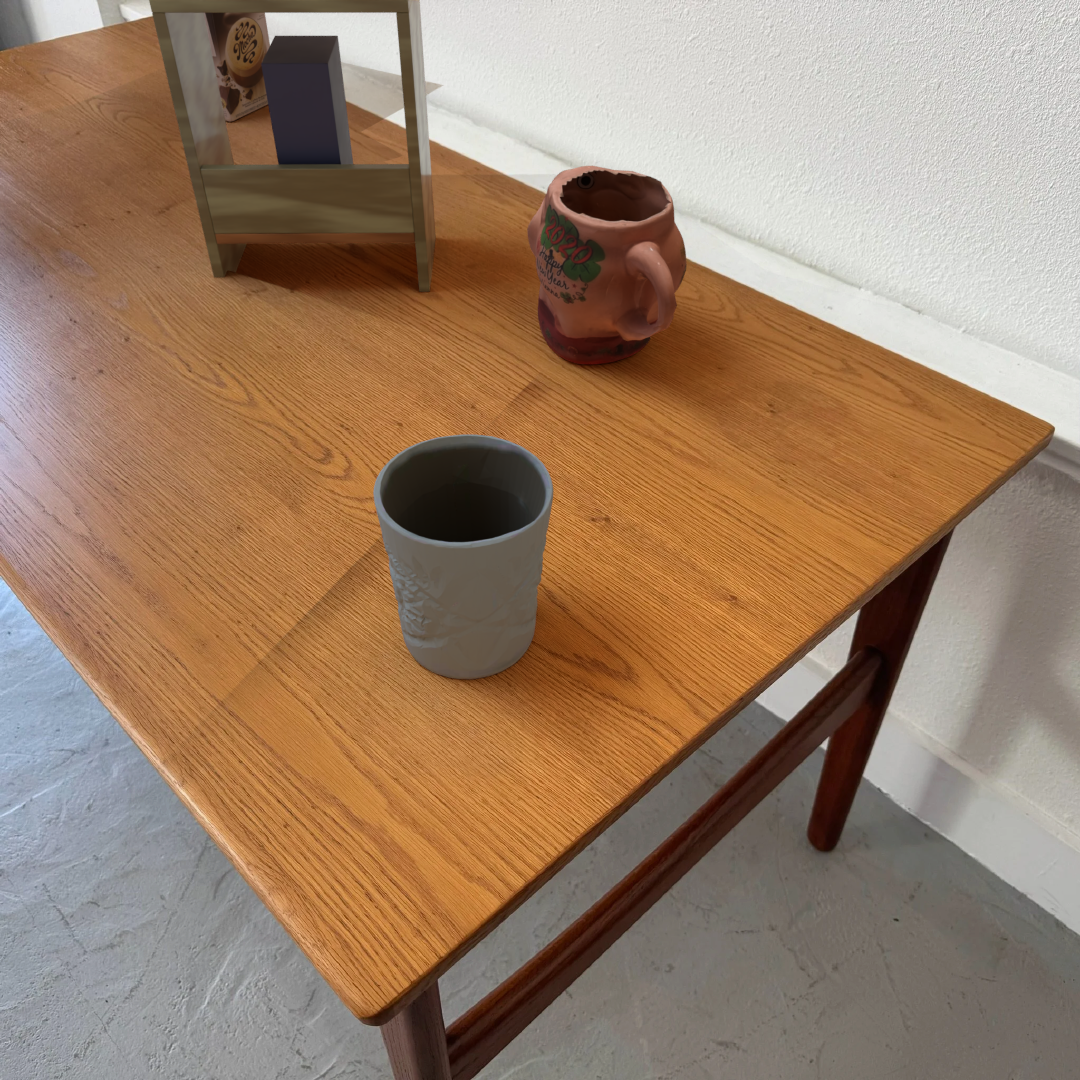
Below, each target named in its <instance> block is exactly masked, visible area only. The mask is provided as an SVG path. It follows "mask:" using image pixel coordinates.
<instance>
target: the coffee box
mask: <svg viewBox="0 0 1080 1080" xmlns="http://www.w3.org/2000/svg"><path fill="white" fill-rule="evenodd" d="M204 17H205V22H206V27H207V32H208V37H209V42H210V47H211V52H212V57H213V62H214V67H215V72H216V77H217V82H218V87H219V92H220V96H221V101H222V106H223V111H224V116H225V121H226V122H234V121H236V120H238V119H240V118H242V117H244V116H246V115H249V114H251V113H253V112H255V111H257V110H259V109H261V108H263V107H266V106H268V101H267V95H266V89H265V83H264V77H263V71H262V66H261V63H262V61H263V59H264V57H265V55H266V53H267V51H268V49H269V47H270V45H271V43H270V36H269V31H268V24H267V23H268V22H267V18H266V17H267V16H266V13H204Z"/></svg>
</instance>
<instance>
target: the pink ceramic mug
mask: <svg viewBox="0 0 1080 1080" xmlns="http://www.w3.org/2000/svg"><path fill="white" fill-rule="evenodd" d="M526 231H527V241H528V244H529V248H530V251H531V253H532V254H533V256H534V257H535V268H536V273H537V277H538V280H539V282H540V285H539V289H538V299H537V301H538V302H537V320H538V325H539V329H540V332H541V334H542V337H543V340H544V341H545V342H546V344H547V345H548V347H549V348H550V350H551V351H553V352H554V353H555V354H556V355H558V356H559V357H560V358H561V359H563V360H565V361H567V362H570V363H574V364H578V365H598V364H599V365H600V364H609V363H614V362H618V361H620V360H624V359H627V358H629V357H632V356H634V355H635V354H637V353H638V352H640V351H641V350H643V349H644V348H645V347H646V346H647V345H648V344H649V343H650V340H651V338H652V336H654V335H656V334H658V333H661V332H663V331H665V330H668V328H669V327H670V325H671V324H672V322H673V320H674V314H675V311H676V309H677V307H678V304H677V299H676V292H677V291H678V290H679V288H680V286H681V285H682V282H683V281H684V278H685V274H686V272H687V251H686V246H685V242H684V238H683V235H682V234H681V231H680V229H679V228H678V225H677V224H676V220H675V206H674V201H673V197H672V195H671V193H670V192H669V191H668V189H667V188H666V187H665V185H664V184H663V182H662V181H661V180H659V179H657V178H655V177H652V176H649V175H646V174H643V173H641V172H637V171H633V170H623V169H622V170H621V169H612V168H607V167H602V166H597V165H582V166H578V167H574V168H569V169H565V170H562V171H560V172H559V173H557V175H555V177H553V179H552V181H551V182H550V184H549V185H548V187H547V189H546V194H545V196H544V198H543V199H542V202H541V205H540V206H539V208H538V210H537V211H536V213H535V214H534V215H533V216H532V218H531V220H530V222H529V223H528V225H527V230H526Z"/></svg>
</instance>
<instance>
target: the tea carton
mask: <svg viewBox="0 0 1080 1080" xmlns="http://www.w3.org/2000/svg"><path fill="white" fill-rule="evenodd" d="M340 51H341V50H340V42H339V36H338V35H274V37H273V39H272V41H271V43H270V47H269V49H268V51H267V53H266V55H265V57H264V59H263V61H262V63H261V66H262V71H263V77H264V83H265V89H266V95H267V101H268V105H267V106H268V112H269V118H270V123H271V130H272V134H273V141H274V146H275V147H274V148H275V153H276V158H277V164H354V159H353V151H352V150H353V149H352V142H351V134H350V125H349V117H348V110H347V109H348V108H347V100H346V92H345V83H344V75H343V67H342V59H341V52H340Z"/></svg>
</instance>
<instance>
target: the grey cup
mask: <svg viewBox="0 0 1080 1080" xmlns="http://www.w3.org/2000/svg"><path fill="white" fill-rule="evenodd" d="M553 484H554V483H553V481H552V478H551V475H550V472H549V470H548V469H547V468H546V466H545V464H544V463H543V462H542V461H541V460H540V459H539V458H538V457H537V456H536V455H535V454H534V453H532V452H531V451H530V450H528V449H526V448H525V447H524V446H522V445H519V444H517V443H515V442H512V441H510V440H508V439H504V438H499V437H496V436H493V435H483V434H473V433H472V434H454V435H446V436H438V437H434V438H430V439H427V440H423V441H420V442H418V443H415V444H413V445H410V446H409V447H406V448H405V449H403V450H402V451H400V452H398V453H397V454H396V455H395V456H393V457H392V458H391V459H390V460H389V461H388V462H386V463H385V464H384V466H383V467H382V469H381V470H380V472H379V474H378V475H377V477H376V479H375V482H374V486H373V492H372V493H373V502H374V507H375V512H376V515H377V519H378V523H379V526H380V532H381V537H382V542H383V547H384V550H385V552H386V554H387V557H388V568H389V572H390V573H389V574H390V578H391V582H392V587H393V591H394V598H395V599H396V601H397V607H398V608H397V613H398V617H399V623H400V628H401V633H402V637H403V641H404V644H405V646H406V648H407V650H408V652H409V653H410V655H411V656H412V657H413V658H414V660H415V661H416V662H417V663H418V664H419V665H421V667H423V668H424V669H426V670H428V671H430V672H432V673H434V674H437V675H439V676H442V677H446V678H449V679H456V680H476V679H481V678H487V677H490V676H494V675H496V674H499V673H501V672H503V671H505V670H507V669H508V668H510V667H512V666H513V665H514V664H516V663H517V662H519V660H520V659H522V658H523V656H524V655H525V654H526V652H527V651H528V649H529V648H530V646H531V643H532V641H533V639H534V635H535V631H536V623H537V610H538V594H539V592H538V587H539V586H540V583H541V582H542V574H543V567H544V566H543V565H544V564H543V562H544V552H545V549H546V545H547V534H548V530H549V524H550V519H551V513H552V507H553V500H554V485H553Z"/></svg>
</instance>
